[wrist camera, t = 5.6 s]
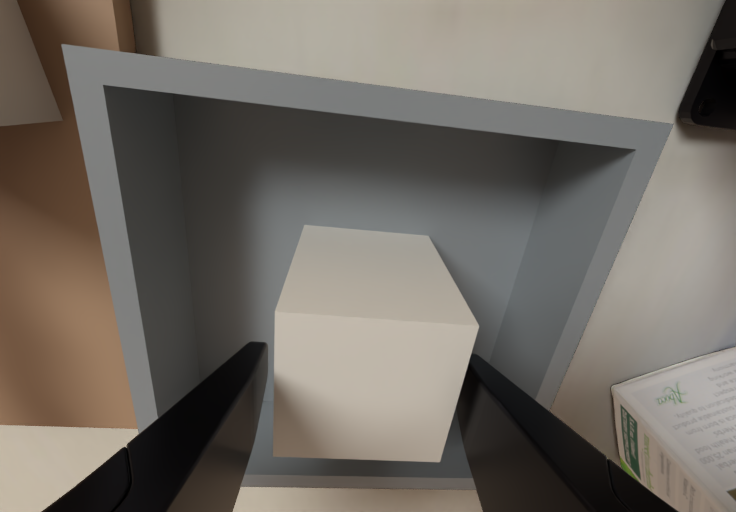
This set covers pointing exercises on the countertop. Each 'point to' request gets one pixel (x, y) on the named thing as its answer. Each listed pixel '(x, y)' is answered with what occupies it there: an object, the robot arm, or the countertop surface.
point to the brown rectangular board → (58, 246)
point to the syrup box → (682, 432)
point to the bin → (342, 221)
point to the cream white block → (22, 73)
